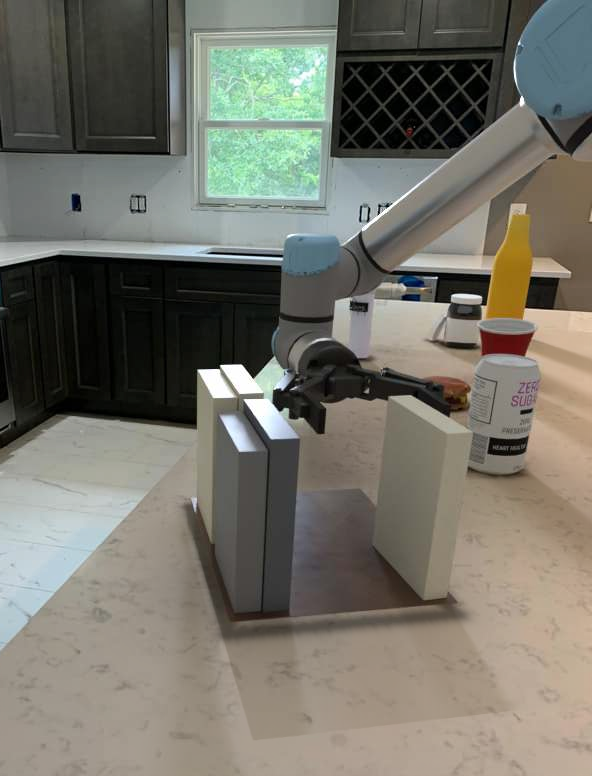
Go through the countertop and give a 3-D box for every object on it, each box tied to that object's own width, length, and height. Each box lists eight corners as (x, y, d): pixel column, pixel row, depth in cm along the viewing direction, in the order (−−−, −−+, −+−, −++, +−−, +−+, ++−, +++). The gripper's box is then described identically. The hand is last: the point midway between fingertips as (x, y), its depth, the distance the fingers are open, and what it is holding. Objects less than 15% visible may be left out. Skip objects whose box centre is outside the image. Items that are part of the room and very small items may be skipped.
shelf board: (359, 499, 90) (360, 488, 89) (455, 616, 66) (458, 602, 66) (189, 509, 86) (189, 497, 86) (228, 636, 63) (229, 622, 62)
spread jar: (479, 351, 168) (487, 300, 163) (429, 348, 170) (435, 297, 165) (472, 341, 179) (479, 292, 174) (425, 338, 180) (431, 290, 176)
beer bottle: (474, 334, 187) (493, 213, 176) (493, 329, 193) (512, 213, 181) (508, 340, 181) (529, 215, 169) (526, 335, 186) (548, 215, 175)
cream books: (237, 498, 86) (241, 364, 80) (257, 541, 76) (264, 392, 70) (196, 500, 85) (197, 365, 79) (211, 544, 75) (213, 394, 69)
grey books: (262, 550, 74) (268, 398, 68) (289, 610, 64) (300, 438, 58) (214, 554, 73) (216, 400, 67) (234, 614, 63) (239, 440, 57)
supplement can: (468, 452, 106) (485, 350, 101) (528, 463, 103) (548, 358, 97) (453, 469, 100) (470, 361, 94) (516, 482, 96) (537, 370, 90)
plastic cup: (457, 384, 141) (466, 321, 137) (484, 374, 148) (494, 315, 144) (510, 396, 134) (522, 330, 130) (536, 386, 141) (548, 323, 137)
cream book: (393, 542, 76) (411, 394, 70) (447, 598, 66) (473, 431, 60) (371, 545, 76) (388, 396, 69) (423, 601, 66) (447, 433, 60)
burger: (417, 394, 134) (420, 369, 132) (469, 400, 131) (473, 375, 129) (410, 409, 125) (413, 382, 124) (466, 416, 123) (470, 389, 121)
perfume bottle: (351, 354, 162) (359, 261, 155) (375, 358, 160) (385, 263, 152) (340, 359, 158) (347, 263, 150) (364, 363, 155) (373, 266, 147)
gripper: (411, 393, 98) (490, 448, 79) (229, 398, 94) (266, 458, 75) (418, 338, 95) (501, 381, 76) (230, 340, 91) (269, 387, 72)
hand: (385, 419), depth 75 cm, fingers open, 13 cm apart
